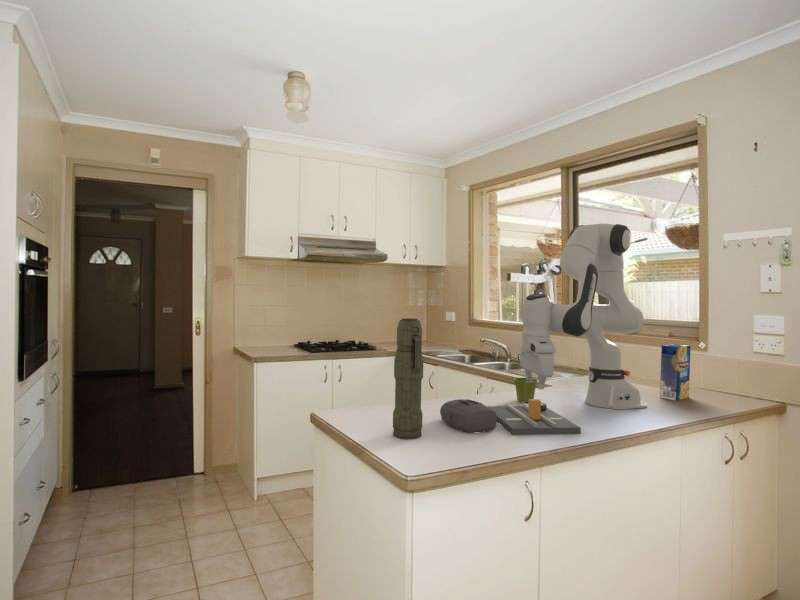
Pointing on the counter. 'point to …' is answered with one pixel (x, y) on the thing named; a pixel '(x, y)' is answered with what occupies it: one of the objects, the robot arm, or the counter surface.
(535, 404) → the fader knob
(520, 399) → the plant pot
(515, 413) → the console board
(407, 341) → the thermos
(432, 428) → the counter surface
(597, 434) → the counter surface
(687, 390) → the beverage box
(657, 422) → the counter surface
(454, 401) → the small grey backpack
